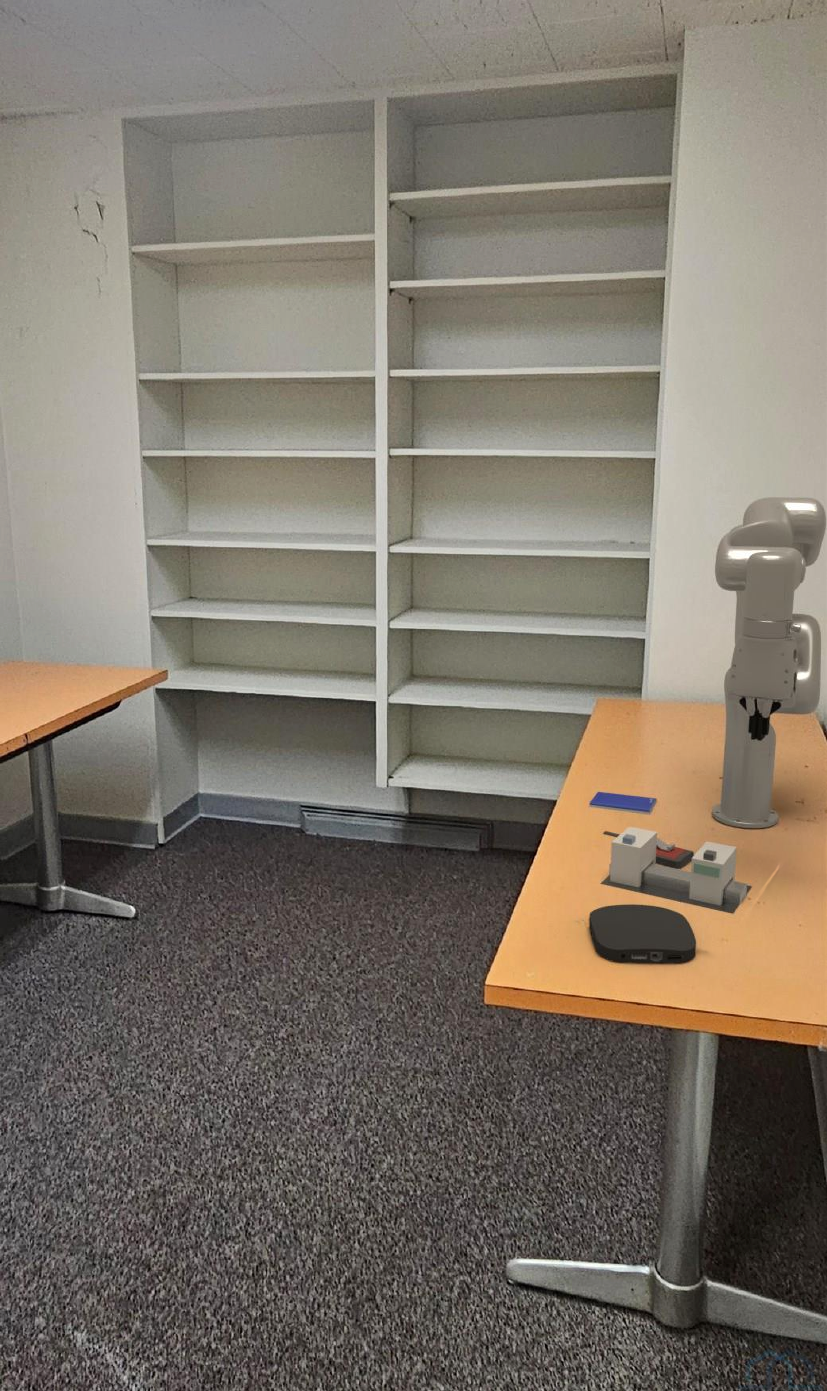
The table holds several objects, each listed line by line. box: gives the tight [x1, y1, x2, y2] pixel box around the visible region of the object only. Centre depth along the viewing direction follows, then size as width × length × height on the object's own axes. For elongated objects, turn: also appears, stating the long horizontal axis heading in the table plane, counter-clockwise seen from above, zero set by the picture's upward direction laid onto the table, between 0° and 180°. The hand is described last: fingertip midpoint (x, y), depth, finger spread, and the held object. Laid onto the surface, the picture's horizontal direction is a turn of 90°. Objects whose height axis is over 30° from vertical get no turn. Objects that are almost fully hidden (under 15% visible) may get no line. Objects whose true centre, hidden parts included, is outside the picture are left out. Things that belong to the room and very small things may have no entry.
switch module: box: [689, 841, 738, 905], centre depth 164 cm, size 9×5×8 cm, turn 149°
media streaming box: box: [588, 903, 697, 965], centre depth 151 cm, size 15×15×3 cm
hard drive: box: [589, 791, 658, 815], centre depth 210 cm, size 2×8×12 cm
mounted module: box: [610, 826, 658, 887], centre depth 171 cm, size 8×5×8 cm, turn 148°
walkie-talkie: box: [602, 830, 695, 870], centre depth 183 cm, size 9×4×20 cm
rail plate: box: [600, 862, 753, 915], centre depth 168 cm, size 12×22×3 cm, turn 58°
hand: (758, 738), depth 167 cm, fingers closed
